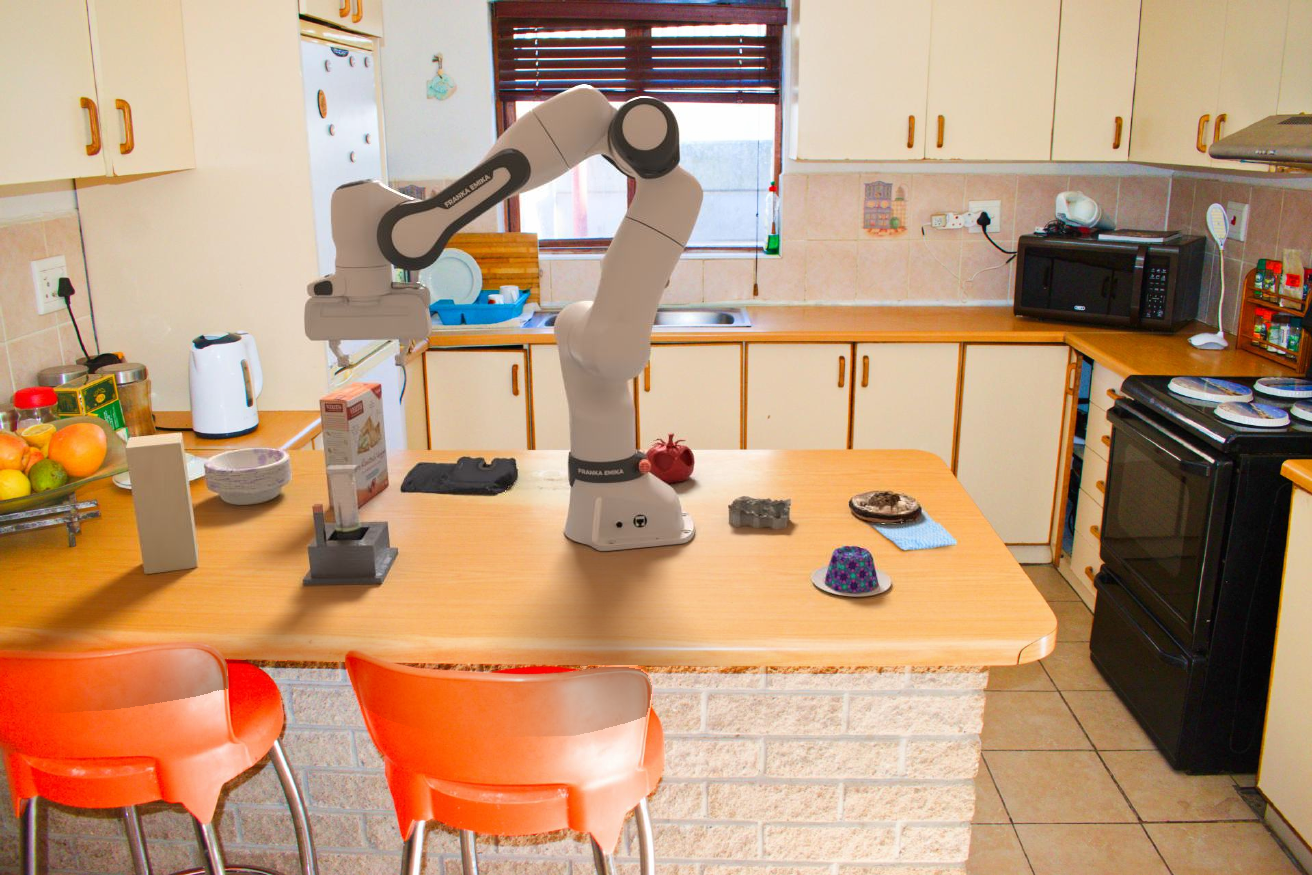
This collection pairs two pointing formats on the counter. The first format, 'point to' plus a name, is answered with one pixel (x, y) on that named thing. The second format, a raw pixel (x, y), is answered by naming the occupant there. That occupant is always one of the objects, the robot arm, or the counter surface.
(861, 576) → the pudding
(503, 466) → the folded black cloth
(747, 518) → the egg carton
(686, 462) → the pomegranate
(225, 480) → the paper bowls
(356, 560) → the housing
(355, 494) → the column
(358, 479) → the cracker box
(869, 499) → the chocolate cream pie
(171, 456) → the upright wooden block
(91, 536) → the counter surface
